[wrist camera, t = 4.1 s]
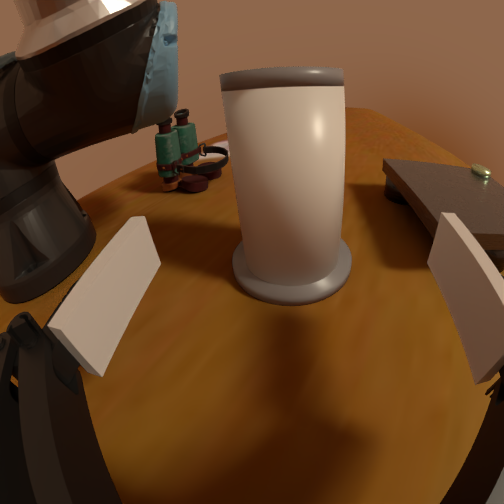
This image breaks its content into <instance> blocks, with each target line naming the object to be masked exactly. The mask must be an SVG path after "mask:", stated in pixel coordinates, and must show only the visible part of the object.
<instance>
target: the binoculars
mask: <svg viewBox="0 0 504 504" xmlns="http://www.w3.org/2000/svg"><path fill="white" fill-rule="evenodd" d="M188 116H189V110H188V109H181V110H178V111H177V112H175V113H174V117H175V118H176V120H177V125H175V126H172V127H171V125H170V123H172V118H168V119H167V120H165V121H164V122H161V123H158V124H156V125H158V126H159V133H157V134H156V135H155V145H156V156H157V169H158V173H159V176H160V177H164V182H163V183H162V188H163V191H170V190H174V189H176V188H178V187H180V186H181V187H182V188H183V189H185V190H187V191H193V192H198V191H204V190H206V189H207V188H208V180H213V179H216V178H219V177H220V176H221V174H222V173H221V168H222V167H224V166H225V165H226V164H227V162H228V151H227V150H226V149H225V148H221V147H216V146H206V144H205V143H202V144H200V145H199V147H198V144H197V136H196V129H195V124H194V123H188V120H187V117H188ZM201 145H204V147H203V153H205V155H203V154H201V147H200V146H201ZM206 153H220V154H223V155H225V156H226V157H225V158H224V159H222V160H220V161H218V162H216V163H215V162H207V163H202V164H200V165H198V166H196V167H195V166H193V162H195V161H197V160H198V159H199V154H200V155H201V156H204V157H205V156H206V155H207V154H206ZM194 174H198V175H194ZM178 176H179V178H178ZM181 178H182V179H181Z"/></svg>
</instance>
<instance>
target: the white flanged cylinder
mask: <svg viewBox="0 0 504 504" xmlns="http://www.w3.org/2000/svg"><path fill="white" fill-rule="evenodd" d="M219 77H220V84H221V92H222V99H223V106H224V113H225V121H226V127H227V135H228V143H229V150H230V157H231V164H232V171H233V178H234V185H235V192H236V199H237V206H238V213H239V220H240V226H241V233H242V241H241V242H240V243H239V245H238V246H237V247H236V249H235V251H234V253H233V258H232V265H233V270H234V275H235V278H236V280H237V282H238V284H239V285H240V286H241V288H242V289H243V290H244V291H246V292H247V293H248V294H250V295H251V296H253V297H255V298H257V299H259V300H261V301H264V302H267V303H271V304H275V305H282V306H301V305H307V304H312V303H316V302H319V301H321V300H324V299H326V298H328V297H330V296H332V295H333V294H335V293H336V292H337V291H339V290H340V289H341V288H342V287H343V285H344V284H345V283H346V281H347V279H348V277H349V274H350V269H351V261H352V257H351V252H350V250H349V248H348V246H347V244H346V243H345V242H344V241H343V240H342V239H341V238H340V237H341V225H342V212H343V196H344V174H345V98H344V97H345V96H344V77H343V69H339V68H329V67H274V68H261V69H252V70H244V71H237V72H230V73H225V74H221V75H219Z"/></svg>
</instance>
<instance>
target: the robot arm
mask: <svg viewBox="0 0 504 504" xmlns="http://www.w3.org/2000/svg"><path fill="white" fill-rule="evenodd" d="M14 2H15V5H16V7H17V10H18V13H19V15H20V17H21V20H22V23H23V25H24V29H23V34H22V36H21V39H20V41H19V44H18V46H17V49H16V51H15V52H11V53H7V54H5V55H3V56H0V294H1V296H2V297H3V299H4V300H5V301H7V302H10V303H20V302H24V301H28V300H30V299H33V298H35V297H37V296H39V295H41V294H43V293H45V292H46V291H48V290H50V289H51V288H53V287H54V286H56V285H57V284H58V283H60V282H61V281H62V280H63V279H65V278H66V277H67V276H68V275H69V274H71V273H72V272H73V271H74V270H75V269H76V268H77V267H78V266H79V265H80V264H81V262H82V261H83V260H84V259H85V258H86V256H87V255H88V254H89V252H90V251H91V249H92V247H93V245H94V243H95V240H96V231H95V229H94V226H93V224H92V222H91V219H90V217H89V215H88V214H87V213H86V212H85V211H84V210H83V209H82V208H81V206H80V205H79V203H78V202H77V201H76V199H75V198H74V197H73V195H72V194H71V193H70V191H69V190H68V189H67V188H66V186H65V185H64V184H63V182H62V181H61V179H60V176H59V173H58V170H57V167H56V164H55V159H57V158H59V157H62V156H64V155H67V154H69V153H72V152H75V151H77V150H80V149H83V148H85V147H88V146H91V145H94V144H97V143H100V142H103V141H106V140H109V139H112V138H115V137H119V136H122V135H125V134H128V133H131V134H134V133H136V132H137V131H138V130H139V129H142V128H145V127H148V126H151V125H154V124H158V123H161V122H164V121H165V120H167V119H168V118H170V116H171V115H172V114H173V113H174V111H175V110H176V107H177V102H178V46H177V29H178V19H177V18H178V17H177V6H176V4H175V3H174V2H167V1H162V2H160V3H159V4H158V3H157V0H14ZM427 264H428V266H429V268H430V270H431V272H432V274H433V276H434V278H435V280H436V282H437V284H438V286H439V288H440V290H441V293H442V295H443V297H444V299H445V302H446V304H447V306H448V308H449V311H450V313H451V316H452V318H453V320H454V323H455V326H456V328H457V331H458V333H459V336H460V339H461V341H462V344H463V347H464V350H465V353H466V356H467V359H468V362H469V365H470V369H471V372H472V375H473V379H474V382H475V385H477V384H480V383H483V382H486V381H489V380H491V379H492V378H493V376H494V375H495V374H496V373H497V372H498V371H499V373H500V378H499V379H498V380H497V381H496V382H495V383H494V384H493V385H492V386H491V387H490V388H489V389H488V390H487V391H486V393H485V395H488V394H489V393H490V392H491V391H492V390H493V389H494V391H493V394H492V395H491V396H490V398H491V401H490V404H489V407H488V409H487V412H486V415H485V418H484V420H483V423H482V425H481V428H480V430H479V432H478V435H477V437H476V439H475V442H474V444H473V446H472V448H471V450H470V452H469V454H468V456H467V458H466V460H465V462H464V464H463V466H462V468H461V470H460V472H459V473H458V475H457V477H456V479H455V480H454V482H453V484H452V485H451V487H450V489H449V490H448V492H447V493H446V495H445V497H444V498H443V500H442V501H441V503H440V504H504V277H503V276H502V275H501V274H500V273H499V271H498V270H497V268H496V267H495V265H494V264H493V262H492V261H491V260H490V258H489V257H488V255H487V254H486V252H485V251H484V250H483V248H482V247H481V246H480V244H479V243H478V242H477V240H476V239H475V238H474V236H473V235H472V234H471V233H470V231H469V230H468V229H467V228H466V226H465V225H464V224H463V223H462V222H461V220H460V219H459V218H458V217H457V216H456V214H455V213H444V212H441V215H440V219H439V223H438V227H437V231H436V235H435V238H434V242H433V245H432V248H431V252H430V255H429V258H428V261H427ZM160 265H161V262H160V259H159V257H158V254H157V251H156V248H155V245H154V243H153V240H152V237H151V234H150V231H149V228H148V225H147V222H146V219H145V216H138V217H131V218H130V219H129V220H128V221H127V222H126V223H125V225H124V226H123V227H122V228H121V229H120V230H119V231H118V233H117V234H116V235H115V236H114V237H113V238H112V240H111V241H110V242H109V243H108V244H107V245H106V247H105V248H104V249H103V250H102V252H101V253H100V254H99V255H98V256H97V258H96V259H95V260H94V261H93V263H92V264H91V265H90V267H89V268H88V269H87V270H86V272H85V273H84V274H83V276H82V277H81V278H80V279H79V280H77V281H76V282H75V283H74V284H73V285H72V287H71V288H70V289H69V291H68V292H67V295H65V296H64V298H63V299H62V302H60V303H59V305H58V306H57V308H56V309H55V311H54V312H53V313H52V315H51V316H50V318H49V319H48V321H47V323H46V324H45V326H44V327H43V328H42V329H41V327H40V326H39V325H38V324H37V322H36V321H35V320H34V318H33V317H32V316H31V314H30V313H29V312H22V313H20V314H18V315H17V316H15V317H14V318H13V320H12V321H11V322H10V324H9V325H8V328H7V331H6V332H3V333H1V334H0V504H122V502H121V500H120V498H119V495H118V493H117V491H116V489H115V486H114V484H113V482H112V479H111V477H110V474H109V472H108V469H107V467H106V464H105V461H104V459H103V456H102V453H101V450H100V447H99V444H98V441H97V438H96V434H95V431H94V428H93V424H92V420H91V417H90V413H89V409H88V405H87V401H86V396H85V392H84V387H83V382H82V377H81V374H80V371H79V370H78V367H79V365H81V366H82V367H83V368H84V369H85V370H86V371H87V372H88V373H91V374H94V375H97V376H100V377H103V375H104V372H105V370H106V368H107V366H108V364H109V362H110V360H111V357H112V355H113V353H114V351H115V349H116V347H117V345H118V343H119V341H120V339H121V337H122V335H123V333H124V331H125V329H126V327H127V325H128V323H129V321H130V319H131V317H132V315H133V314H134V312H135V310H136V308H137V306H138V304H139V302H140V300H141V299H142V297H143V295H144V293H145V291H146V289H147V288H148V286H149V284H150V282H151V280H152V279H153V277H154V275H155V273H156V272H157V270H158V268H159V266H160ZM11 375H13V376H14V377H15V378H16V379H17V380H18V387H17V386H16V385H14V384H13V383H12V382H11V381H10V380H11Z"/></svg>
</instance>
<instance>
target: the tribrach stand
mask: <svg viewBox="0 0 504 504" xmlns="http://www.w3.org/2000/svg"><path fill="white" fill-rule="evenodd" d="M382 171H383V172H384V173H385V174H386V185H385V193H384V195H385V197H386V198H387V199H389V200H391V201H393V202H395V203H399V204H405V205H410V206H411V207H412V209H413V210H414V212H415V213H416V214H417V216H418V217H419V219H420V220H421V222H422V223H423V224H424V226H425V227H426V229H427V230H428V232H429V233H430V235H431V236H432V238H433V239H434V238H435V235H436V231H437V227H438V223H439V219H440V215H441V212H444V213H455V214H456V216H457V217H458V218H459V219H460V220H461V222H462V223H463V224H464V225H465V226H466V228H467V229H468V230H469V231H470V233H471V234H472V235H473V236H474V238H475V239H476V240H477V242H478V243H479V244H480V246H481V247H482V248H483V250H484V251H485V252H486V254H487V255H488V257H489V258H490V260H491V261H492V262H493V264H494V265H495V267H496V268H497V270H498V271H499V273H500V272H502V271H503V270H504V187H502V186H501V185H500V184H499V183H498V182H496V181H495V180H494V179H493V178H491V177H490V175H491V171H490V170H489V169H487V168H486V167H484V166H482V165H479V164H472V168H471V169H470V168H464V167H458V166H451V165H444V164H436V163H427V162H418V161H408V160H396V159H383V169H382Z"/></svg>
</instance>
